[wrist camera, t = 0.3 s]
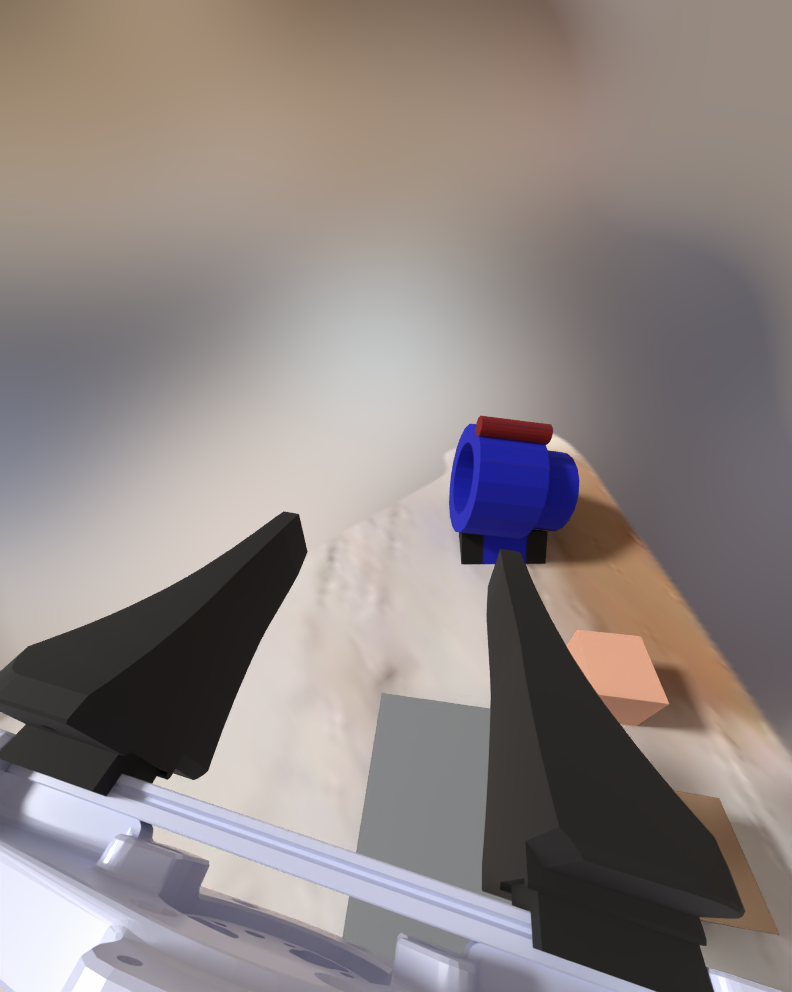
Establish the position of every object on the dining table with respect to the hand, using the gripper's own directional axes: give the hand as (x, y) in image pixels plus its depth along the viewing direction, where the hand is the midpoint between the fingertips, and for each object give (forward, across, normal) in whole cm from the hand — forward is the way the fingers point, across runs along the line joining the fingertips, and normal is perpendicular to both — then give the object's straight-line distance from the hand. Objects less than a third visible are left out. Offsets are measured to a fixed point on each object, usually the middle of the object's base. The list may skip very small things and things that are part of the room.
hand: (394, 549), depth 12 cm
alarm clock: (+24, -8, +19) cm, 32 cm away
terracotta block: (+6, -16, +20) cm, 26 cm away
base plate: (-3, -5, +21) cm, 22 cm away
